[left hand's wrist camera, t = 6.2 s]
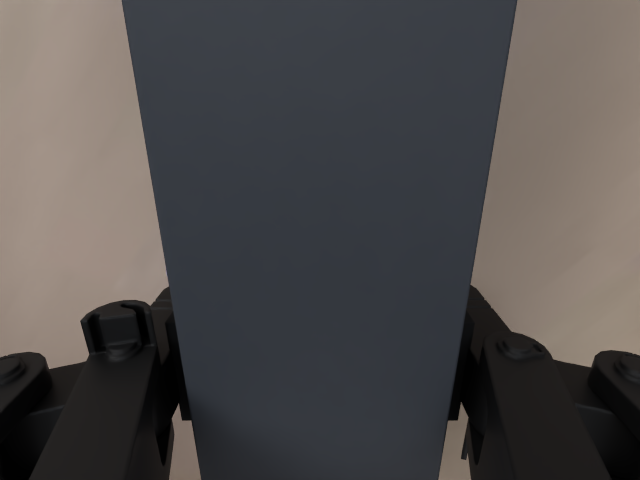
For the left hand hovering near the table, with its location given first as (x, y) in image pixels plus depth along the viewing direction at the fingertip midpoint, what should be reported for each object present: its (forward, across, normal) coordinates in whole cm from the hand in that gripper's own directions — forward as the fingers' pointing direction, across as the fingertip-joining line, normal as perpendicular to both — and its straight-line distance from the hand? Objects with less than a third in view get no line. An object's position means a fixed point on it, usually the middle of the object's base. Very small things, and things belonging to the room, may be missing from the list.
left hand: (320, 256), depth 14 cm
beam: (+1, 0, -20) cm, 20 cm away
